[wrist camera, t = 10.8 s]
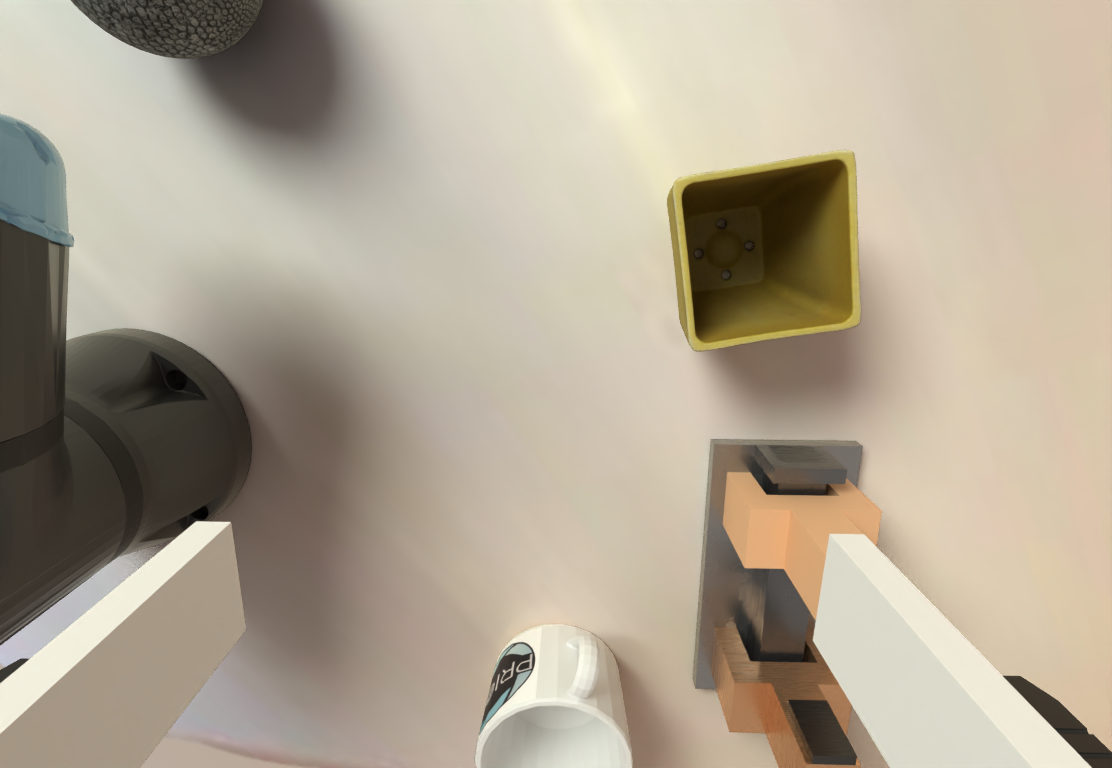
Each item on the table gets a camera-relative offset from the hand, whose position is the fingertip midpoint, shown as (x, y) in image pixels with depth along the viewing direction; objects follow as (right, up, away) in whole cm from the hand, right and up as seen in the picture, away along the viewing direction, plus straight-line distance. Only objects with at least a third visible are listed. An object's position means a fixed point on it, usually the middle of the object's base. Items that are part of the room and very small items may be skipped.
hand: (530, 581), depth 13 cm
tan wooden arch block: (+16, -4, +28) cm, 33 cm away
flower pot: (+11, +13, +25) cm, 31 cm away
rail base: (+16, -9, +31) cm, 36 cm away
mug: (+1, -17, +34) cm, 38 cm away
